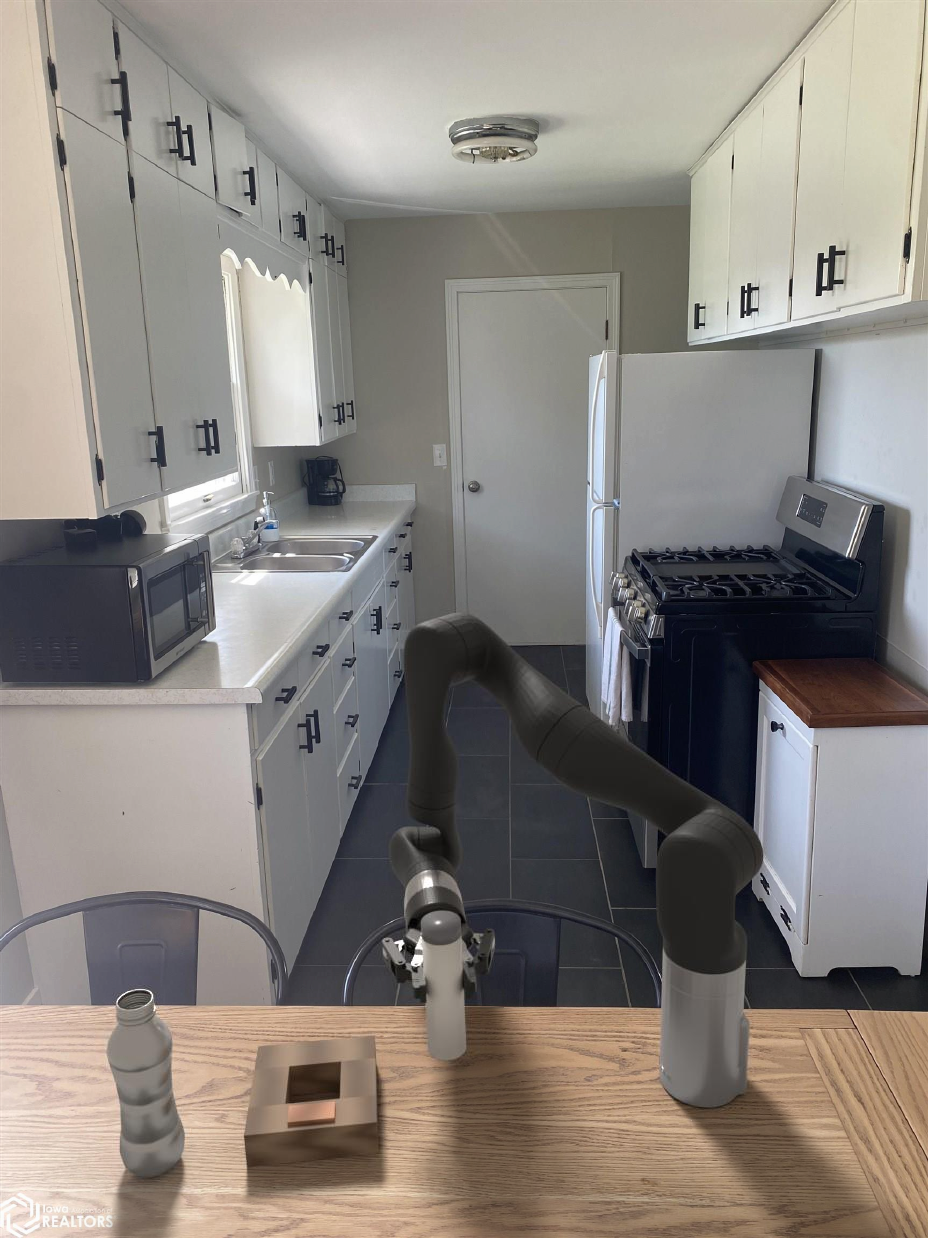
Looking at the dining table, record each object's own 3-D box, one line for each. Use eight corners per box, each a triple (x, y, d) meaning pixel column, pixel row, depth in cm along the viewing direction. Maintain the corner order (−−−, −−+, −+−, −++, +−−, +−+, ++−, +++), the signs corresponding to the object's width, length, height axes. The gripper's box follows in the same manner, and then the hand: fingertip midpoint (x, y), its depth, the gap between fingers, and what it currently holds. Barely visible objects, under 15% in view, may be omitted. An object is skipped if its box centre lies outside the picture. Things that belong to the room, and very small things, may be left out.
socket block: (376, 1064, 114) (374, 1032, 113) (378, 1153, 100) (376, 1119, 99) (260, 1075, 113) (257, 1043, 112) (246, 1167, 99) (243, 1132, 98)
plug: (464, 1032, 108) (458, 909, 105) (468, 1058, 104) (462, 930, 100) (426, 1036, 108) (419, 912, 104) (429, 1062, 104) (422, 934, 100)
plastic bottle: (168, 1191, 96) (148, 1023, 92) (109, 1182, 98) (86, 1016, 93) (197, 1143, 102) (180, 984, 98) (142, 1135, 104) (122, 977, 99)
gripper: (376, 890, 116) (378, 969, 100) (488, 879, 118) (509, 957, 101) (379, 943, 118) (382, 1030, 101) (490, 933, 119) (511, 1017, 103)
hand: (445, 993), depth 101 cm, fingers closed on plug, 4 cm apart
